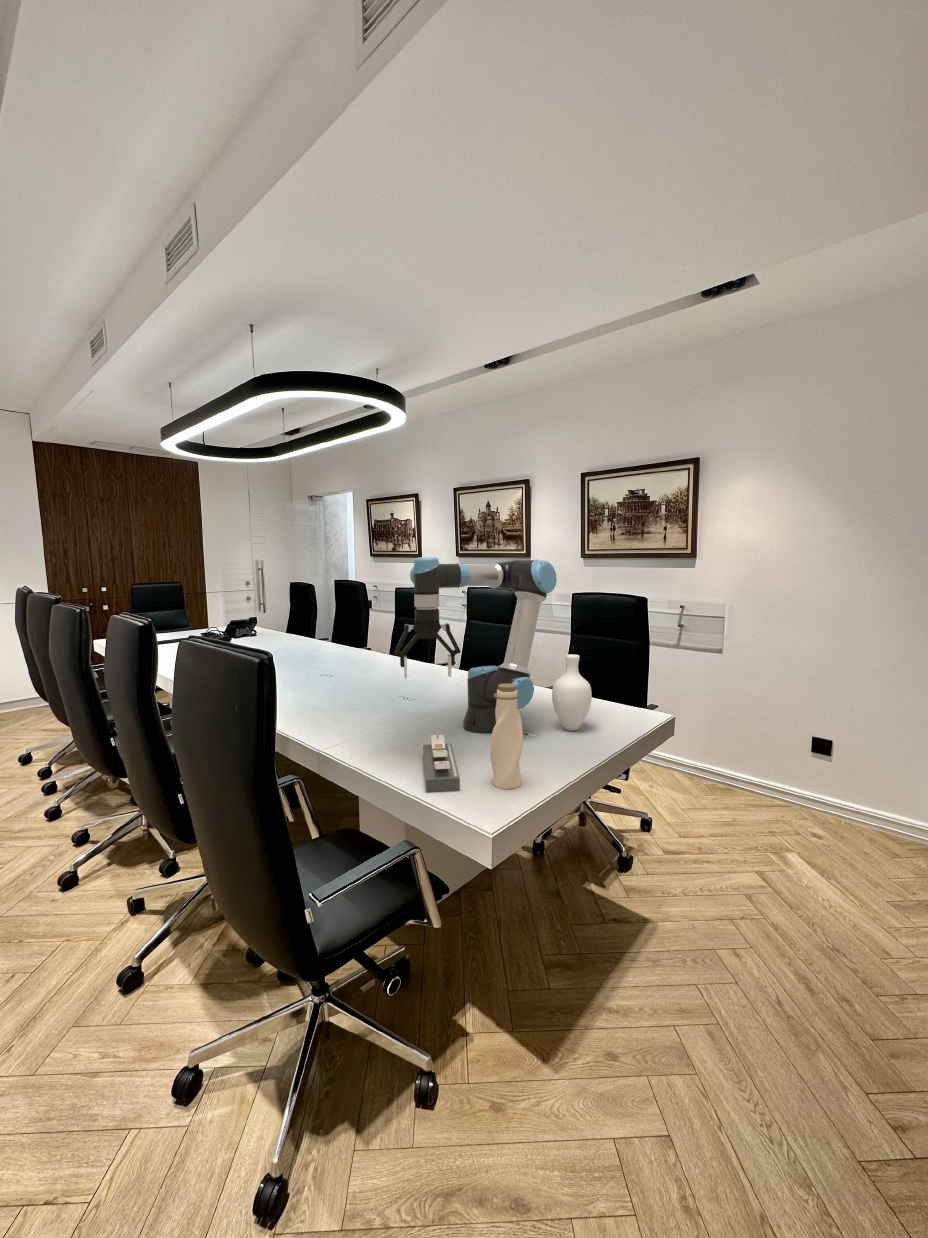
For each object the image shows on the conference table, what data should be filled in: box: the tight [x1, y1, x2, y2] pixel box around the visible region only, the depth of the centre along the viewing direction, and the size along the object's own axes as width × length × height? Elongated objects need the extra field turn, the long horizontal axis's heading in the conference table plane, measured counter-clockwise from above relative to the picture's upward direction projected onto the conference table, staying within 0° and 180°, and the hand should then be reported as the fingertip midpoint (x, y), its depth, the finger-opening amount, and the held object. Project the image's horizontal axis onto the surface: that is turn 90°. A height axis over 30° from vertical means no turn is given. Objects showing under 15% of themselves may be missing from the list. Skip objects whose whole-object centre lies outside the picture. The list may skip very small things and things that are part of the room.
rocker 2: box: [433, 750, 447, 757], centre depth 155 cm, size 4×7×2 cm, turn 6°
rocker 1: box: [430, 734, 446, 752], centre depth 164 cm, size 4×7×2 cm, turn 6°
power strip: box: [422, 743, 461, 793], centre depth 159 cm, size 9×37×4 cm, turn 6°
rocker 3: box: [434, 761, 450, 769], centre depth 146 cm, size 4×7×2 cm, turn 6°
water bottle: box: [489, 683, 524, 790], centre depth 146 cm, size 10×9×28 cm
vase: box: [551, 653, 593, 732], centre depth 193 cm, size 14×14×28 cm
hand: (427, 676), depth 161 cm, fingers open, 13 cm apart
